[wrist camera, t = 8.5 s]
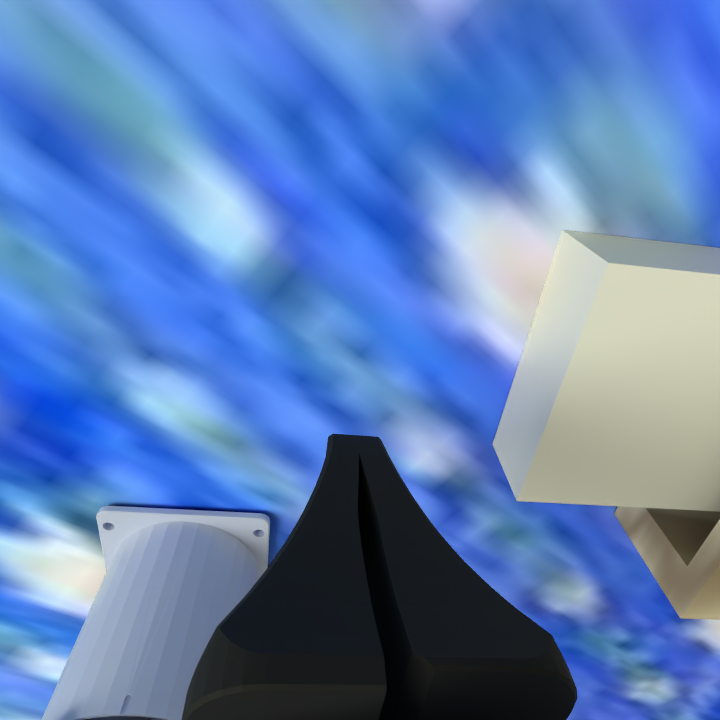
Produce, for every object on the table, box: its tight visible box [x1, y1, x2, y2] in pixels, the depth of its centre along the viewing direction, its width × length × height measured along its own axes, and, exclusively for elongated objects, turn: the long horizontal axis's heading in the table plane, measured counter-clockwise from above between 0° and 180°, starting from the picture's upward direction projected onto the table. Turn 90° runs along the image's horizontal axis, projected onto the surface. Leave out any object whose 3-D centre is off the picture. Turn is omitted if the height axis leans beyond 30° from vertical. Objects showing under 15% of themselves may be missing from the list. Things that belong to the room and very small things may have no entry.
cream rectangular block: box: [493, 230, 720, 512], centre depth 20 cm, size 10×14×4 cm
